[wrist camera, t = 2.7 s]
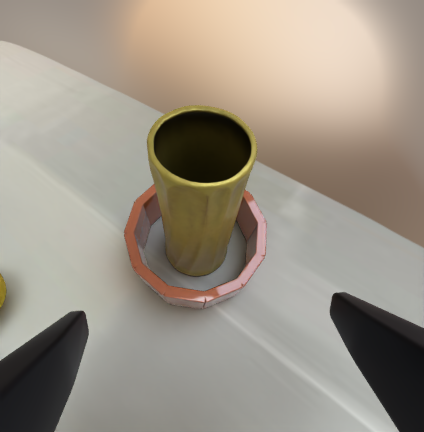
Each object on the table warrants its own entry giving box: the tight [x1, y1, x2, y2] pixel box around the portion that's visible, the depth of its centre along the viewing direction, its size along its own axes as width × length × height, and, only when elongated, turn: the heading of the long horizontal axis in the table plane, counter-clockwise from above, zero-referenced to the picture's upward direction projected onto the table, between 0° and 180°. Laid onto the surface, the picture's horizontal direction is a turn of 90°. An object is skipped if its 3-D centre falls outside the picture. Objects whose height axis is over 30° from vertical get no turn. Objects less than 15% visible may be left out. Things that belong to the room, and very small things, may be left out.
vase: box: [147, 105, 257, 276], centre depth 17 cm, size 6×6×14 cm
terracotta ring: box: [124, 184, 267, 309], centre depth 22 cm, size 12×12×4 cm
